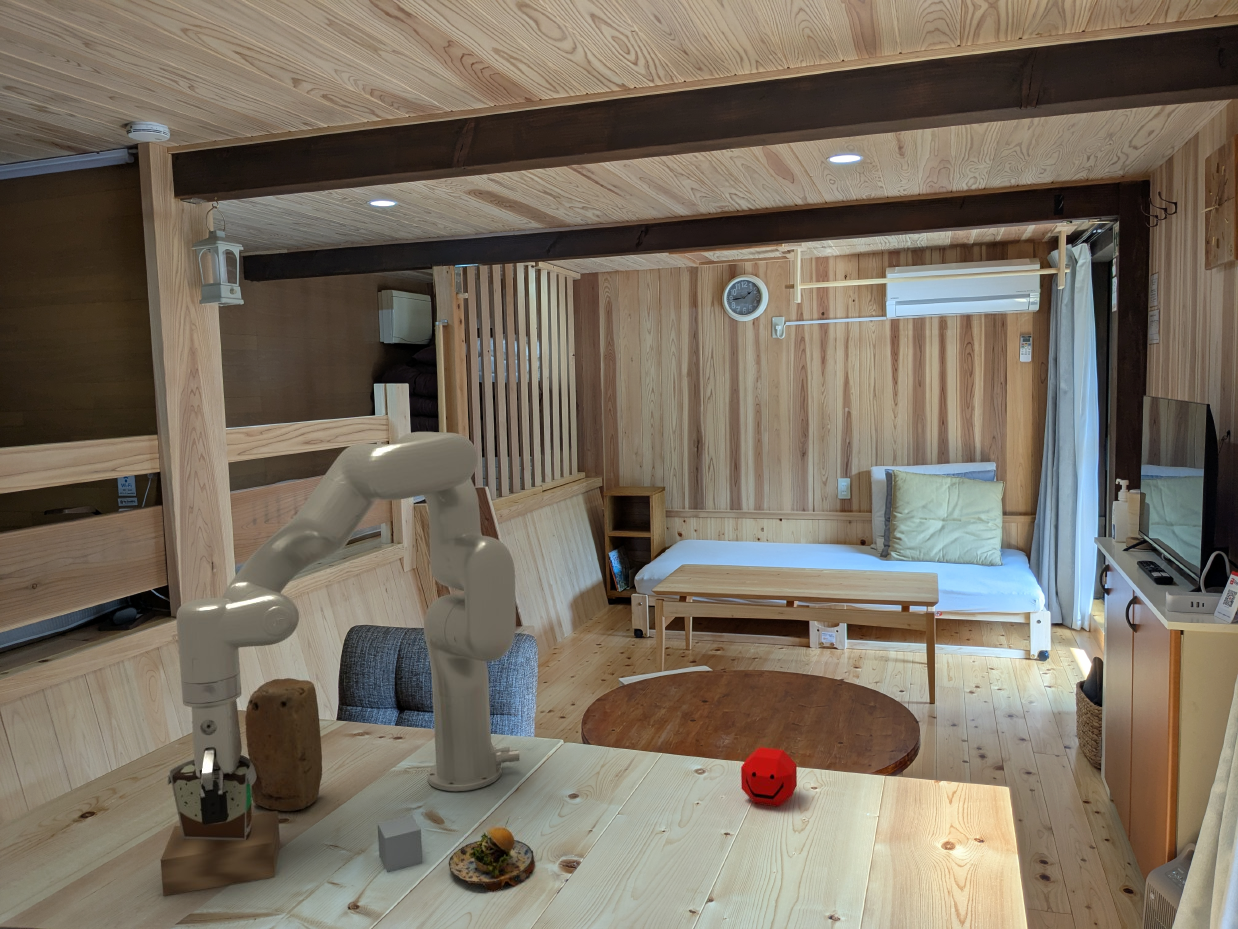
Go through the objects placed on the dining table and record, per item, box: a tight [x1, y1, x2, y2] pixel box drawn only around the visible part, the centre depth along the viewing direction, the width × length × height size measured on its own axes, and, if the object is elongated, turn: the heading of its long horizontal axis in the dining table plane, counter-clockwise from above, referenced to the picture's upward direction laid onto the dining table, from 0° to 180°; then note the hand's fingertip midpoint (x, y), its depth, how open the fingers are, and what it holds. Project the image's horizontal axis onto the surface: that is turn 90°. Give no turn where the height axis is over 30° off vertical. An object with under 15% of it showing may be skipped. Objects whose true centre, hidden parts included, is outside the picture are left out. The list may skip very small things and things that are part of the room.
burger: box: [448, 817, 535, 893], centre depth 126 cm, size 12×12×8 cm
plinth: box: [160, 810, 281, 897], centre depth 128 cm, size 14×10×5 cm
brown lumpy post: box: [244, 677, 323, 812], centre depth 148 cm, size 11×8×20 cm
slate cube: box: [377, 814, 424, 873], centre depth 129 cm, size 5×5×5 cm
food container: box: [167, 754, 257, 840], centre depth 129 cm, size 12×6×10 cm, turn 83°
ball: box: [740, 747, 798, 807], centre depth 144 cm, size 8×8×8 cm
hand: (220, 806), depth 128 cm, fingers open, 9 cm apart
